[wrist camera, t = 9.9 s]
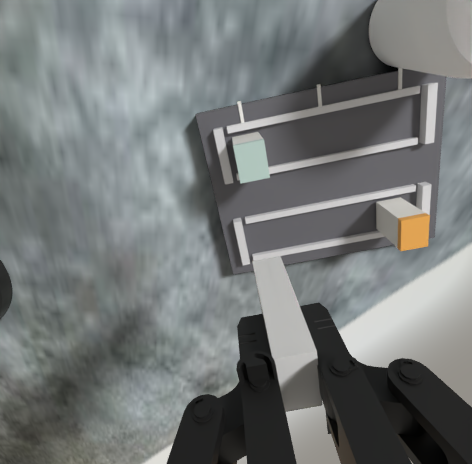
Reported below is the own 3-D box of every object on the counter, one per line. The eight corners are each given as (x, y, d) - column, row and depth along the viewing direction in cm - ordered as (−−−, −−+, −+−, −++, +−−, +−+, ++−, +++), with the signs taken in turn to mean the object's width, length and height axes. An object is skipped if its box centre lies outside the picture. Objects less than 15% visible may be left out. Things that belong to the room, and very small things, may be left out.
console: (233, 267, 37) (234, 281, 34) (196, 109, 30) (193, 111, 27) (423, 232, 36) (440, 244, 33) (433, 58, 28) (455, 55, 26)
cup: (415, 99, 30) (529, 103, 19) (334, 53, 28) (407, 30, 17) (481, -8, 26) (666, -77, 15) (394, -67, 24) (534, -193, 14)
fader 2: (376, 228, 33) (400, 251, 28) (376, 201, 31) (401, 220, 27) (399, 224, 32) (427, 246, 28) (400, 197, 31) (429, 215, 27)
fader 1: (238, 169, 30) (240, 183, 25) (232, 137, 28) (232, 146, 24) (263, 164, 30) (269, 177, 25) (258, 131, 28) (264, 139, 24)
